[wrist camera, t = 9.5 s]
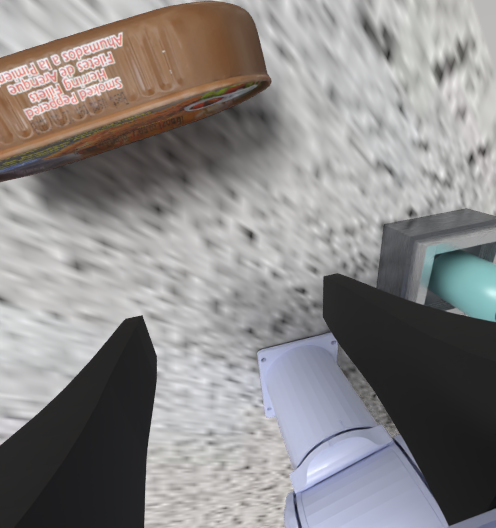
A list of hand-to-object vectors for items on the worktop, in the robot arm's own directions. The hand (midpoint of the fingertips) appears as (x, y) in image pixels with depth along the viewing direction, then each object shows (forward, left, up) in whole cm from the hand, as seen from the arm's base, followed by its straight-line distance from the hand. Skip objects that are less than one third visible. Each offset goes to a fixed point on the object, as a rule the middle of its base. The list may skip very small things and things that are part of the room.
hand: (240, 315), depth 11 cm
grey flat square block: (-6, -18, -10) cm, 22 cm away
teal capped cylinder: (-6, -18, -7) cm, 20 cm away
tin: (+8, +4, -11) cm, 14 cm away
